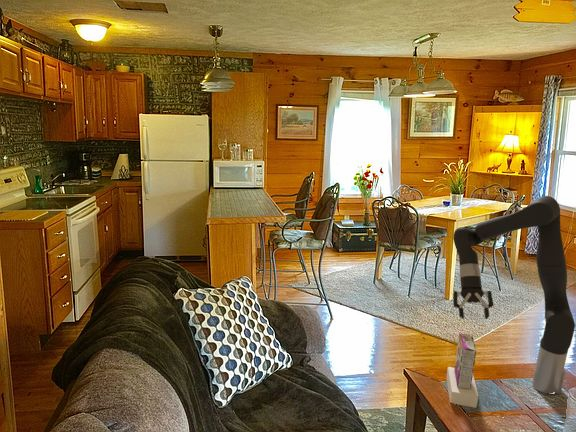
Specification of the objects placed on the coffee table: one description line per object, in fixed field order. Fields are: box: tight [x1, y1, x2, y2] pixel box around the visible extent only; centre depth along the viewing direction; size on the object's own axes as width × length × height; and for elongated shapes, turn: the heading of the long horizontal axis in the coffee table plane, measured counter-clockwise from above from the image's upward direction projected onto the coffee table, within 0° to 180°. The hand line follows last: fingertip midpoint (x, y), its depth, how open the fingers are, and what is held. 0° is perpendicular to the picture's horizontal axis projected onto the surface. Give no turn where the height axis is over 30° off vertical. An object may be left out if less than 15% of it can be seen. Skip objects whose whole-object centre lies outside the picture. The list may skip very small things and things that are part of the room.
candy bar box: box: [454, 333, 477, 389], centre depth 174 cm, size 11×5×16 cm, turn 167°
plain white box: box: [445, 366, 479, 409], centre depth 177 cm, size 9×16×5 cm, turn 167°
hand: (474, 318), depth 180 cm, fingers open, 8 cm apart
